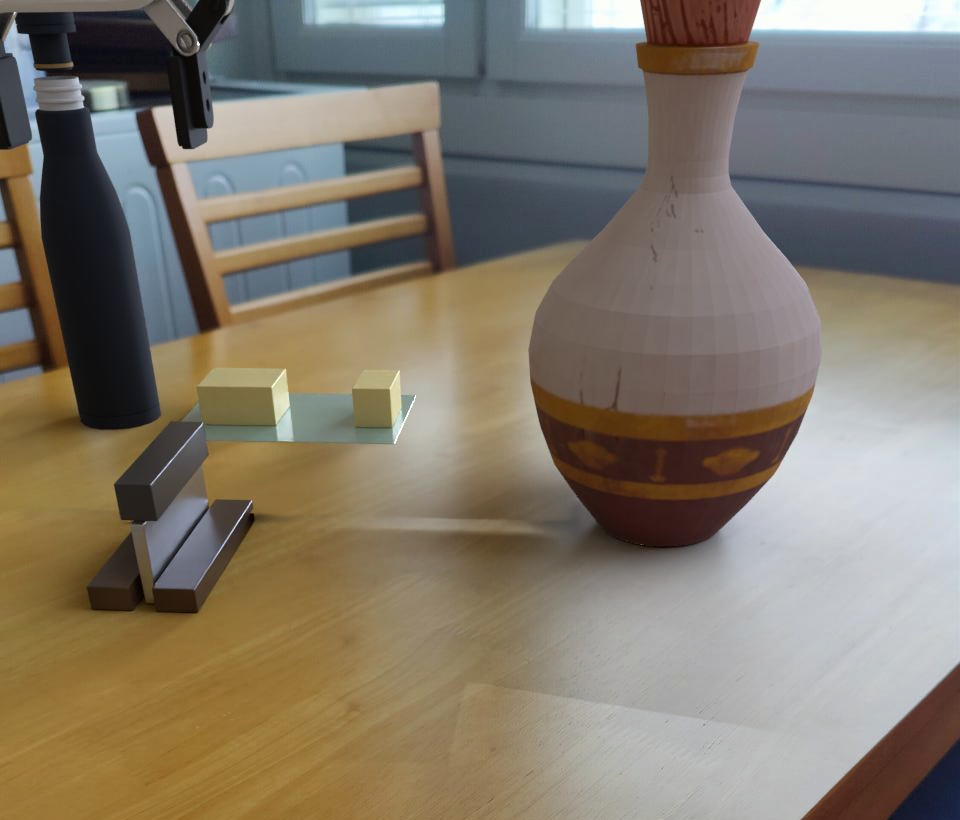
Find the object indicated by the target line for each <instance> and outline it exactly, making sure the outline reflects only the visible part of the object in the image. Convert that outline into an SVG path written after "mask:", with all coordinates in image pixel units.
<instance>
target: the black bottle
mask: <svg viewBox="0 0 960 820" xmlns="http://www.w3.org/2000/svg"><path fill="white" fill-rule="evenodd" d="M14 22H15V27H16V32H17V34H20V35H28V40H29V45H30V49H31V55H32V59H33V63H32V64H33V68H34V69H35V71H38V72H59V71H60V72H61V71H69V70H72V69H73V67H74V62H73V61H72V56H71V52H70V45H69V41H68V35H67V33H68V34H69V33H70V34H71V33H76V32H77V29H76V28H77V27H76V23H75V17H74V12H18V13H17V15H16V17H15V19H14ZM33 83H34V85H33V86H32V90H33V91H34V92H35V94H36V97H35V102H36V103H37V104H38V108H37V109H35V112H34V116H35V120H36V127H37V130H38V135H39V141H40V145H41V151H42V155H43V159H42V169H41V177H40V178H41V179H40V190H39V191H40V193H39V218H40V219H39V220H40V221H39V223H40V236H41V237H40V238H41V242H42V247H43V251H44V255H45V256H44V257H45V262H46V266H47V270H48V275H49V279H50V284H51V289H52V294H53V298H54V303H55V307H56V312H57V317H58V322H59V325H60V326H59V327H60V330H61V332H60V333H61V336H62V341H63V346H64V350H65V355H66V359H67V364H68V368H69V373H70V378H71V382H72V388H73V392H74V396H75V401H76V406H77V407H76V408H77V411H78V415H79V420H80V423H81V424H82V425H83V426H84V427H86V428H90V429H95V430H101V431H117V430H118V431H119V430H129V429H133V428H134V429H135V428H139V427H143V426H146V425H150V424H152V423H154V422H156V421H157V420H159V418H160V417H161V416H162V409H161V404H160V403H161V402H160V398H159V392H158V386H157V381H156V374H155V370H154V364H153V363H154V362H153V358H152V351H151V347H150V346H151V345H150V340H149V335H148V328H147V324H146V322H147V321H146V317H145V311H144V306H143V301H142V300H143V299H142V295H141V288H140V283H139V282H140V281H139V276H138V271H137V265H136V259H135V253H134V247H133V242H132V236H131V231H130V230H131V229H130V227H129V223H128V221H127V218H126V215H125V211H124V209H123V206H122V203H121V200H120V198H119V194H118V191H117V190H116V188H115V185H114V184H113V182H112V179H111V177H110V175H109V173H108V171H107V169H106V167H105V165H104V163H103V161H102V158H101V157H100V155H99V152H98V149H97V143H96V142H97V141H96V137H95V132H94V127H93V121H92V115H91V110H90V108H89V107H87V106H84V101H85V96H84V95H83V94H82V89H83V84H82V83H80V80H79V76H76V75H75V76H74V75H53V76H41V77H35V78H33Z"/></svg>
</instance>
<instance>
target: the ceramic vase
mask: <svg viewBox="0 0 960 820" xmlns="http://www.w3.org/2000/svg"><path fill="white" fill-rule="evenodd" d="M639 1H640V2H639V3H640V8H641V14H642V20H643V26H644V33H645V37H646V41H642V42H641V41H640V42H637V43H635V52H636V61H637V68H638V69H640V70H642V74H643V75H642V76H643V81H644V88H645V96H646V105H647V107H646V109H647V117H648V119H647V120H648V122H647V123H648V124H647V127H648V128H647V131H648V133H647V142H648V143H647V148H648V149H647V151H648V152H647V162H646V163H647V164H646V171H645V173H644V176H643V179H642V181H641V184H640V186H639V187H638V188H637V189H636V190H635V191H634V193H633V194H632V195H631V196H630V197H629V198H628V199H627V201H626V202H625V203H624V204H623V206H622V207H620V209H619V210H618V211H617V212H616V213H615V215H614V216H613V217H612V218H611V219H610V220H609V222H608V223H607V224H606V225H605V226H604V227H603V229H602V230H600V232H599V233H598V234H597V235H596V236H594V237H593V239H592V240H590V241H589V242H588V243H587V244H586V245H585V246H584V247H583V248H582V249H581V250H580V251H579V252H578V253H577V254H576V255H575V256H574V257H573V258H572V259H571V261H570V262H568V264H567V265H566V266H565V267H564V268H563V269H561V271H560V272H559V274H558V275H556V277H555V278H554V279H553V280H552V281H551V283H550V285H549V287H548V288H547V290H546V292H545V294H544V296H543V297H542V300H541V301H540V303H539V305H538V307H537V309H536V310H535V314H534V318H533V322H532V323H533V324H532V329H531V334H530V339H529V340H530V341H529V345H528V349H527V350H528V365H529V368H528V369H529V381H530V382H529V383H530V388H531V392H532V396H533V400H534V405H535V410H536V414H537V419H538V423H539V426H540V430H541V433H542V435H543V439H544V441H545V443H546V446H547V449H548V451H549V454H550V457H551V460H552V462H553V465H554V466H555V467H556V469H557V470H558V472H559V474H560V475H561V476H562V477H563V479H564V481H565V482H566V483H567V485H568V486H569V488H570V489H571V490H572V492H573V493H574V495H575V496H576V498H577V499H578V500H579V502H580V503H581V504H582V505H583V506H584V508H585V509H586V510H587V512H588V513H589V514H590V515H591V516H592V518H593V519H594V520H595V522H596V523H597V524H598V525H599V527H600V528H601V529H602V530H603V531H604V532H605V533H606V534H608V535H609V536H611V537H613V538H616V539H618V540H620V541H623V542H626V541H627V542H626V543H629V542H630V544H633V543H636V544H635V545H638V544H642V545H641V546H644V545H650V546H649V547H654V546H675V547H683V546H682V545H684V546H687V545H688V546H689V545H693V544H698V543H701V542H703V541H706V540H708V539H710V538H713V537H714V536H715V535H717V533H718V532H719V531H720V530H722V529H723V527H724V526H726V525H727V524H728V523H729V522H730V521H731V520H732V519H733V518H734V517H735V516H736V515H738V513H739V512H740V511H741V510H743V508H744V507H745V506H747V505H748V503H750V501H751V500H753V498H754V497H755V496H756V495H757V494H758V493H759V492H760V491H761V489H762V488H764V486H765V485H766V484H767V483H768V482H769V481H770V480H771V479H772V477H773V476H775V474H776V472H777V471H778V470H779V468H780V466H781V464H782V462H783V461H784V458H785V457H786V455H787V453H788V451H789V449H790V448H791V446H792V444H793V442H794V441H795V439H796V437H797V436H798V433H799V431H800V429H801V426H802V423H803V421H804V418H805V415H806V413H807V410H808V407H809V405H810V403H811V400H812V398H813V395H814V391H815V387H816V384H817V383H816V382H817V378H818V375H819V369H820V364H821V361H822V329H821V328H822V327H821V326H822V325H821V318H820V315H819V312H818V310H817V308H816V305H815V302H814V300H813V297H812V294H811V293H810V289H809V287H808V285H807V283H806V282H805V280H804V279H803V278H802V276H801V275H800V274H799V272H798V271H797V270H796V268H795V267H794V266H793V265H792V263H791V262H790V260H789V259H788V258H787V257H786V256H785V255H784V254H783V252H782V251H781V249H779V248H778V247H777V245H776V244H775V243H774V242H773V241H772V240H771V239H770V237H769V236H768V235H767V234H766V233H765V231H764V230H763V229H762V228H761V226H760V225H759V223H758V222H757V220H756V218H755V217H754V216H753V214H752V213H751V211H749V209H748V208H747V206H746V205H745V204H744V201H743V200H742V199H741V197H740V196H739V195H738V193H737V192H736V190H735V189H734V188H733V186H732V181H731V177H730V173H729V167H730V166H729V165H730V163H729V162H730V151H731V144H732V138H733V133H734V131H733V130H734V125H735V119H736V114H737V110H738V106H739V102H740V99H741V95H742V91H743V87H744V84H745V81H746V78H747V75H748V72H749V70H750V69H752V68H754V65H755V62H756V58H757V55H758V51H759V47H760V42H758V41H752V40H750V38H751V34H752V30H753V27H754V23H755V21H756V18H757V15H758V12H759V9H760V5H761V2H762V0H639ZM679 545H680V546H679Z"/></svg>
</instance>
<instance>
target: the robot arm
mask: <svg viewBox="0 0 960 820" xmlns="http://www.w3.org/2000/svg"><path fill="white" fill-rule="evenodd" d="M235 1H236V0H198V1H197V2H196V3H195V6H194V7H193V6H191V4H190V3H189V1H187V0H0V151H4V150H5V151H8V150H9V151H11V150H13V149H16V148H18V147H21V146H23V145H27V144H29V142H30V141H32V140H33V132H32V127H31V123H30V118H29V114H28V108H27V103H26V99H25V94H24V89H23V85H22V80H21V75H20V70H19V66H18V60H17V58H16V57H15V56H14V55H13V52H6V47H5V41H6V39H7V37H8V34H9V32H10V30H11V29H12V26H13V24H14V22H15V17H16V15H17V13H18V12H73V13H83V12H84V13H85V12H86V13H89V12H92V13H93V12H122V11H134V10H138V9H142V10H143V11H144V12H145V14H146V15H147V17H149V19H150V20H151V21H152V22H153V23H154V25H155V26H156V27H157V28H158V29H159V31H160V32H161V33H162V34H163V35H164V36H165V38H166V39H167V40H168V41H169V43H170V44H171V50H172V55H170V56H168V57H167V59H166V61H165V62H166V64H165V65H166V72H167V80H168V86H169V94H170V100H171V101H170V102H171V108H172V114H173V121H174V128H175V134H176V135H175V136H176V141H177V142H176V143H177V145H178V147H181V148H182V150H195V149H197V148H199V147H201V146H203V145H205V144H206V143H207V142H208V137H209V136H208V130H209V129H213V126H214V122H215V121H214V119H215V117H214V116H215V115H214V108H213V98H212V91H211V84H210V75H209V68H208V61H207V53H206V52H207V51H209V50H210V49H211V47H212V45H213V42H214V39H216V37H217V35H218V34H219V32H220V31H221V29H222V28H223V27H224V25H225V24H226V22H227V21H228V19H229V17H230V16H231V15H232V13H233V11H234V10H235V5H236V2H235Z"/></svg>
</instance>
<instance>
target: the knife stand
mask: <svg viewBox="0 0 960 820" xmlns="http://www.w3.org/2000/svg"><path fill="white" fill-rule="evenodd" d="M253 502H254V501H253V500H252V499H226V498H225V499H221V498H216V499H214V500H213V502H212V503H211V505H210V506H209V509H208V511H207V512H206V514H205V515H204V516H203V518H202V519H201V521H200V522H199V523H198V525H197V526H196V528H195V529H194V530H193V532H192V533H191V535H190V536H189V537H188V539H187V540H186V542H185V543H184V544H183V546H182V547H181V549H180V550H179V551H178V553H177V554H176V556H175V557H174V558H173V560H172V561H171V563H170V564H169V565H168V567H167V568H166V570H165V571H164V572H163V574H162V575H161V577H160V578H159V579H158V581H157V582H156V584H155V585H154V586H153V588H152V592H153V597H154V602H155V604H154V607H155V611H156V612H171V613H172V612H173V613H174V612H175V613H199V611H200V610H201V608H202V606H203V605H204V604H205V602H206V601H207V598H208V597H209V596H210V595H211V592H212V590H213V589H214V587H215V586H216V584H217V582H218V581H219V580H220V578H221V576H222V574H223V572H224V571H225V570H226V568H227V566H228V565H229V563H231V562H230V561H231V560H232V558H233V557H234V556H235V554H236V552H237V550H239V547H240V546H241V544H242V542H243V541H244V539H245V537H246V536H247V535H248V532H249V531H250V529H251V528H252V526H253V525H254V523H255V522H256V516H255V513H254V512H252V511H253V509H254V503H253ZM86 592H87V596H88V601H89V606H90V609H91V610H103V611H104V610H105V611H106V610H107V611H134V609H135V608H136V606H137V605H138V604H139V603H140V601H141V599H142V598H143V596H144V592H143V587H142V582H141V577H140V572H139V567H138V562H137V557H136V552H135V547H134V542H133V537H132V532H131V531H130V532H129V533H128V535H126V537H125V538H124V540H123V541H122V542H121V543H120V544H119V546H118V547H117V548H116V549H115V550H114V552H113V553H112V554H111V555H110V557H109V558H108V559H107V560H106V561H105V563H104V564H103V566H101V568H100V569H99V570H98V571H97V573H95V575H94V576H93V578H92V579H91V580H90V581H89V582H88V584H87V585H86Z"/></svg>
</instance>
